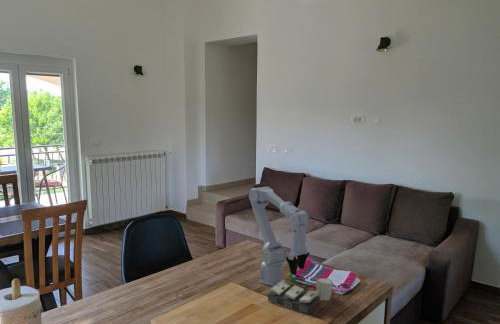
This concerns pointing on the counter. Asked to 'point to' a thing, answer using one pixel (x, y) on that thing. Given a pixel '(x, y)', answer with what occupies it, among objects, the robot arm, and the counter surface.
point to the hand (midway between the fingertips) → (297, 271)
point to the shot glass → (324, 288)
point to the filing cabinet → (294, 301)
